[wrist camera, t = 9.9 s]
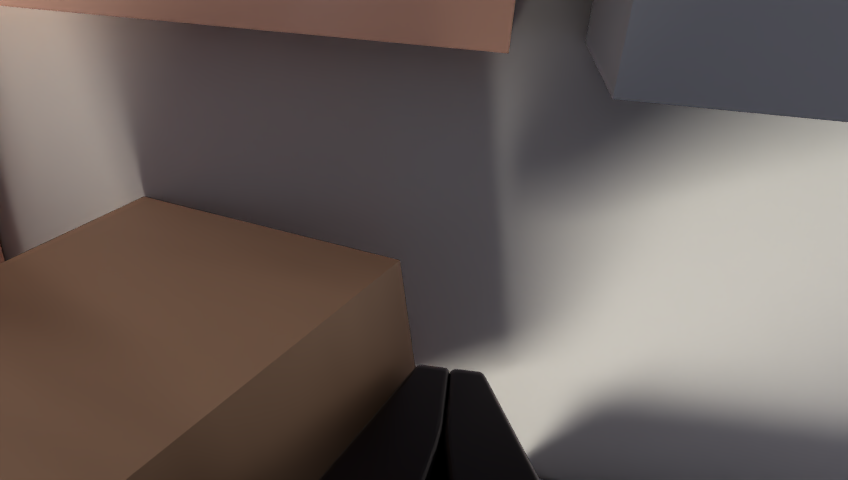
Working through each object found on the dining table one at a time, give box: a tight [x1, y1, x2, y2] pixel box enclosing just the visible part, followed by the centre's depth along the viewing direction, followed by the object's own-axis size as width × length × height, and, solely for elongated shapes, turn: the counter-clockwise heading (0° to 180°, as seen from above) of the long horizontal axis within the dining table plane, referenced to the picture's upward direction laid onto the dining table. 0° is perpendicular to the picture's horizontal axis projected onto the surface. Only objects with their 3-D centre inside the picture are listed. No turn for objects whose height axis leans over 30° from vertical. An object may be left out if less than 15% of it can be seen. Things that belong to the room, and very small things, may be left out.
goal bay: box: [0, 0, 515, 263], centre depth 10 cm, size 11×10×1 cm
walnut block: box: [0, 197, 415, 480], centre depth 9 cm, size 5×5×5 cm
